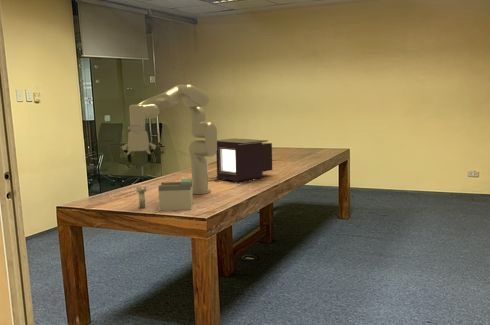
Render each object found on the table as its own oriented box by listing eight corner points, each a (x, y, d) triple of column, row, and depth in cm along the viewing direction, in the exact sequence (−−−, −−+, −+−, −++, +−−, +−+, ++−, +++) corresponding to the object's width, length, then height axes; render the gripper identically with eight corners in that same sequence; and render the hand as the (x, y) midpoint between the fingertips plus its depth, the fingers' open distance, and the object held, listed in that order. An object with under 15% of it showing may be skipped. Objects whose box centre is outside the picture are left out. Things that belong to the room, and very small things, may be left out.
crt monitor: (244, 184, 299) (243, 143, 296) (210, 178, 324) (209, 140, 321) (280, 177, 323) (279, 139, 320) (246, 172, 348) (245, 137, 345)
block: (163, 205, 244) (161, 182, 242) (193, 204, 245) (192, 181, 243) (159, 210, 232) (158, 186, 231) (191, 209, 233) (190, 185, 231)
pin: (138, 207, 241) (137, 186, 240) (148, 206, 241) (146, 186, 240) (136, 209, 236) (135, 188, 235) (146, 209, 236) (145, 188, 235)
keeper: (182, 181, 241) (182, 179, 241) (191, 181, 241) (191, 178, 241) (180, 184, 232) (180, 182, 232) (190, 184, 233) (190, 181, 232)
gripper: (119, 129, 229) (121, 163, 232) (153, 128, 230) (155, 162, 232) (122, 128, 237) (124, 161, 239) (156, 128, 237) (157, 160, 240)
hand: (139, 162), depth 236 cm, fingers open, 9 cm apart
